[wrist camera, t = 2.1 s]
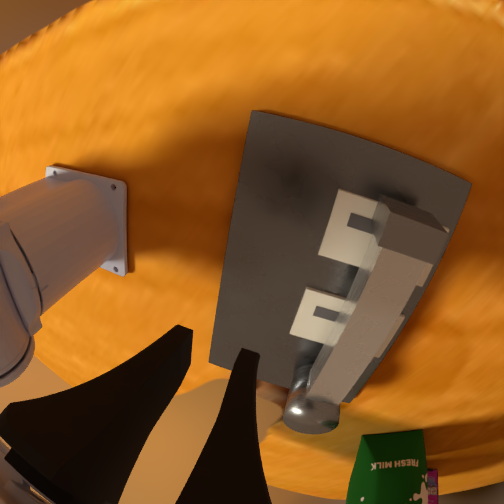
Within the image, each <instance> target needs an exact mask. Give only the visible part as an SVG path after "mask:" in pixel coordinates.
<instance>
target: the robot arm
mask: <svg viewBox="0 0 504 504" xmlns="http://www.w3.org/2000/svg"><path fill="white" fill-rule="evenodd" d="M114 184H115V186H116V189H115V187H114ZM126 208H127V186H126V184H125V182H123V181H121V180H117V179H112V178H108V177H104V176H99V175H95V174H90V173H86V172H81V171H76V170H72V169H67V168H62V167H57V166H52V165H50V166H47V168H46V178H43V179H41V180H38V181H36V182H33V183H31V184H29V185H26V186H24V187H22V188H19V189H17V190H15V191H12V192H10V193H8V194H6V195H4V196H1V197H0V387H3V386H5V385H8V384H9V383H11V382H13V381H14V380H15V379H17V378H18V377H19V376H20V375H21V374H22V373H23V372H24V371H25V369H26V368H27V367H28V365H29V363H30V361H31V359H32V357H33V354H34V350H35V341H34V336H33V335H34V334H35V333H36V332H37V331H39V330H40V329H41V328H42V324H41V321H40V316H41V315H42V314H43V313H44V312H46V311H47V310H48V309H49V308H50V307H51V306H52V305H54V304H55V303H56V302H57V301H58V300H59V299H61V298H62V297H63V296H64V295H65V294H67V293H68V292H69V291H70V290H71V289H73V288H74V287H75V286H76V285H77V284H79V283H80V282H81V281H82V280H84V279H85V278H86V277H87V276H89V275H90V274H91V273H92V272H94V271H95V270H96V269H97V268H99V267H101V268H103V269H106V270H108V271H110V272H113V273H115V274H117V275H120V276H125V275H126V274H127V273H128V266H127V232H126ZM117 268H118V269H117ZM192 339H193V330H191V329H188V328H186V327H183V326H181V325H176V326H174V327H173V328H172V329H171V330H169V331H168V332H167V333H166V334H164V335H163V336H162V337H160V338H159V339H158V340H156V341H155V342H154V343H152V344H151V345H149V346H148V347H147V348H145V349H144V350H142V351H141V352H139V353H138V354H136V355H135V356H133V357H132V358H130V359H129V360H127V361H125V362H124V363H122V364H120V365H119V366H117V367H115V368H114V369H112V370H110V371H108V372H106V373H104V374H103V375H101V376H99V377H96V378H94V379H92V380H90V381H88V382H85V383H83V384H81V385H78V386H76V387H73V388H71V389H68V390H65V391H62V392H58V393H55V394H52V395H48V396H44V397H41V398H36V399H31V400H26V401H20V402H13V403H10V404H9V405H8V406H7V407H6V408H5V409H4V410H3V412H2V413H1V414H0V436H1V437H2V438H3V439H4V440H5V441H6V442H7V443H8V444H9V445H10V446H11V447H12V448H11V449H9V448H8V447H7V446H6V445H5V444H4V443H3V442H2V441H1V440H0V504H51V503H52V504H118V502H119V500H120V497H121V495H122V492H123V490H124V487H125V485H126V483H127V480H128V478H129V476H130V473H131V471H132V469H133V467H134V465H135V463H136V461H137V458H138V456H139V454H140V452H141V450H142V448H143V446H144V444H145V442H146V440H147V438H148V436H149V434H150V432H151V431H152V429H153V427H154V426H155V424H156V423H157V421H158V420H159V418H160V416H161V415H162V413H163V412H164V410H165V409H166V407H167V406H168V404H169V403H170V401H171V399H172V398H173V397H174V395H175V393H176V392H177V390H178V389H179V387H180V385H181V383H182V381H183V379H184V377H185V375H186V373H187V371H188V369H189V367H190V364H191V352H192ZM259 359H260V355H259V353H257V352H254V351H251V350H248V349H245V348H241V350H240V352H239V354H238V356H237V358H236V361H235V363H234V366H233V369H232V372H231V375H230V379H229V382H228V386H227V389H226V392H225V395H224V398H223V402H222V405H221V408H220V412H219V414H218V417H217V420H216V422H215V425H214V426H213V429H212V431H211V433H210V435H209V437H208V439H207V442H206V444H205V446H204V448H203V450H202V452H201V454H200V456H199V458H198V460H197V462H196V465H195V467H194V469H193V471H192V472H191V474H190V477H189V478H188V481H187V483H186V484H185V487H184V488H183V490H182V492H181V494H180V496H179V498H178V500H177V501H176V503H175V504H272V503H271V500H270V496H269V492H268V488H267V484H266V480H265V476H264V472H263V467H262V461H261V456H260V449H259V442H258V433H257V422H256V379H257V370H258V364H259ZM30 486H31V487H32V488H33V489H34V490H35V491H37V492H38V493H39V494H40V495H42V496H43V497H44V498H45V499H47V500H48V501H49V502H50V503H49V502H48V501H46V500H45V499H43V498H42V497H40V496H38V495H37V494H36V493H34V492H33V491H31V490H30Z"/></svg>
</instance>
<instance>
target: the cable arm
mask: <svg viewBox="0 0 504 504" xmlns="http://www.w3.org/2000/svg"><path fill="white" fill-rule="evenodd" d="M371 226H372V229H373V235H372V237H371V240H370V242H369V245H368V247H367V250H366V252H365V255H364V257H363V260H362V262H361V265H360V267H359V269H358V272H357V274H356V277H355V279H354V281H353V283H352V286H351V288H350V290H349V292H348V295H347V297H346V299H345V301H344V304H343V306H342V308H341V310H340V312H339V314H338V316H337V318H336V321H335V323H334V325H333V327H332V329H331V331H330V333H329V335H328V337H327V339H326V341H325V343H324V345H323V347H322V349H321V351H320V353H319V355H318V356H317V358H316V360H315V362H314V363H312V364H306V365H303V366H301V367H299V368H298V369H297V370H296V371H295V372H294V374H293V377H292V382H291V386H290V391H289V395H288V399H287V403H286V407H285V412H284V416H283V421H284V423H285V424H286V425H287V426H288V427H289V428H291V429H292V430H295V431H297V432H300V433H305V434H322V433H327V432H329V431H332V430H333V429H335V428H336V427H337V426H338V424H339V415H340V404H341V401H342V400H343V399H344V398H345V396H346V395H347V394H348V392H349V391H350V390H351V388H352V387H353V386H354V384H355V383H356V381H357V380H358V379H359V377H360V376H361V375H362V373H363V372H364V370H365V369H366V367H367V366H368V364H369V363H370V362H371V360H372V359H373V357H374V356H375V354H376V353H377V351H378V349H379V348H380V346H381V345H382V343H383V342H384V340H385V339H386V337H387V335H388V334H389V332H390V330H391V329H392V327H393V326H394V324H395V322H396V320H397V319H398V317H399V315H400V314H401V312H402V310H403V308H404V307H405V305H406V303H407V301H408V299H409V298H410V296H411V294H412V292H413V290H414V288H415V286H416V284H417V283H418V281H419V279H420V277H421V275H422V273H423V271H424V269H425V267H426V265H427V263H430V264H432V265H435V263H436V261H437V259H438V257H439V255H440V252H441V250H442V248H443V246H444V244H445V241H446V239H447V237H448V235H449V234H448V232H447V231H446V230H445V229H444V228H443V226H442V225H441V224H440V223H439V222H438V221H437V219H436V218H435V217H434V216H433V215H432V214H431V213H430V212H427V211H425V210H422V209H419V208H417V207H414V206H412V205H409V204H406V203H404V202H401V201H398V200H396V199H393V198H390V197H387V196H384V195H382V194H380V197H379V200H378V203H377V206H376V209H375V212H374V215H373V217H372V220H371Z"/></svg>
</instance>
